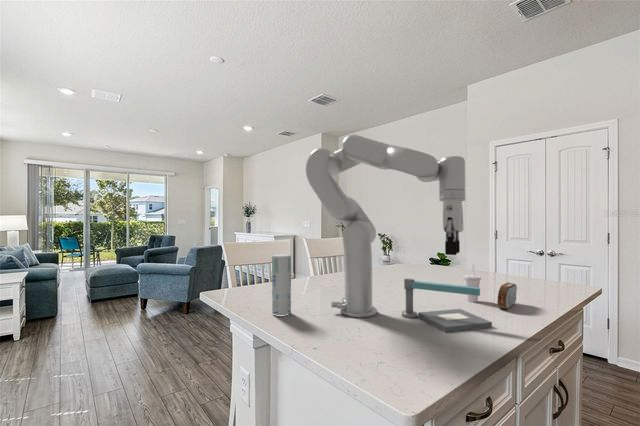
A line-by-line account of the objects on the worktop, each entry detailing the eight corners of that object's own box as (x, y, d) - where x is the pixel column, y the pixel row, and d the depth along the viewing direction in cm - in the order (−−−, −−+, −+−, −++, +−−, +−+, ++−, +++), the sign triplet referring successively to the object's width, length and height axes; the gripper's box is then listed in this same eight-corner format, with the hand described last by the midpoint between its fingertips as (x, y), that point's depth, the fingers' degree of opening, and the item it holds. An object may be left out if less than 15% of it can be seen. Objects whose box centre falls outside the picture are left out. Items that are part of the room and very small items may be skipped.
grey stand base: (431, 333, 88) (431, 302, 88) (399, 314, 106) (398, 287, 106) (491, 327, 93) (491, 297, 93) (451, 309, 111) (451, 284, 111)
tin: (509, 302, 120) (508, 280, 120) (518, 303, 118) (518, 281, 118) (496, 310, 110) (496, 286, 110) (506, 312, 108) (506, 287, 108)
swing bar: (403, 289, 104) (403, 280, 104) (405, 287, 106) (405, 278, 106) (479, 297, 92) (479, 287, 92) (480, 295, 95) (480, 285, 95)
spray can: (293, 315, 104) (292, 255, 105) (273, 317, 103) (273, 256, 103) (289, 310, 111) (289, 253, 111) (270, 312, 109) (270, 254, 109)
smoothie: (484, 303, 119) (484, 266, 119) (467, 303, 119) (467, 266, 119) (476, 298, 125) (476, 263, 125) (460, 298, 125) (459, 263, 125)
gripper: (461, 194, 89) (462, 257, 89) (468, 197, 104) (468, 251, 104) (434, 195, 93) (434, 255, 93) (444, 198, 108) (444, 250, 107)
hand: (452, 253), depth 98 cm, fingers open, 5 cm apart
